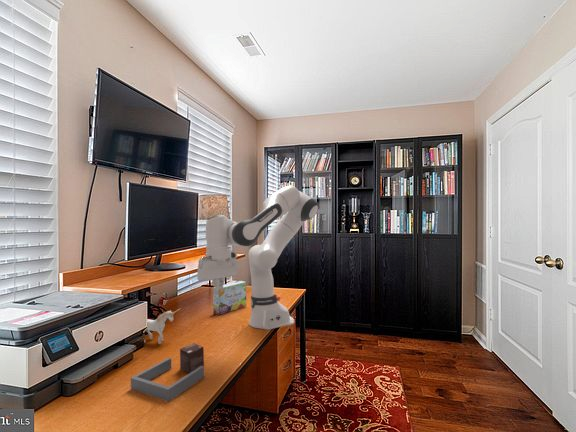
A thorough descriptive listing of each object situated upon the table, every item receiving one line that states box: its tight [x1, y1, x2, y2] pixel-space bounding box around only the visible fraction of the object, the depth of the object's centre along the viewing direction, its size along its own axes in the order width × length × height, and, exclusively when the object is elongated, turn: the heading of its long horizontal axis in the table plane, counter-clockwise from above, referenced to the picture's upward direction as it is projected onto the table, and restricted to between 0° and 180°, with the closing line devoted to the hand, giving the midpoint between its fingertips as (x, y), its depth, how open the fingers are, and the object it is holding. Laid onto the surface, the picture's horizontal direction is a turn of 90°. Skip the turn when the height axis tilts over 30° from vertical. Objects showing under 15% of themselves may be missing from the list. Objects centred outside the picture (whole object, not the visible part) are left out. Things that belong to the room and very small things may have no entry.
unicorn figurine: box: [143, 307, 182, 345], centre depth 135 cm, size 7×20×13 cm, turn 93°
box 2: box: [179, 342, 205, 374], centre depth 110 cm, size 6×6×7 cm
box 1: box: [130, 357, 205, 403], centre depth 100 cm, size 15×16×4 cm
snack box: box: [212, 280, 247, 316], centre depth 179 cm, size 21×6×15 cm, turn 143°
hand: (219, 290), depth 123 cm, fingers closed
